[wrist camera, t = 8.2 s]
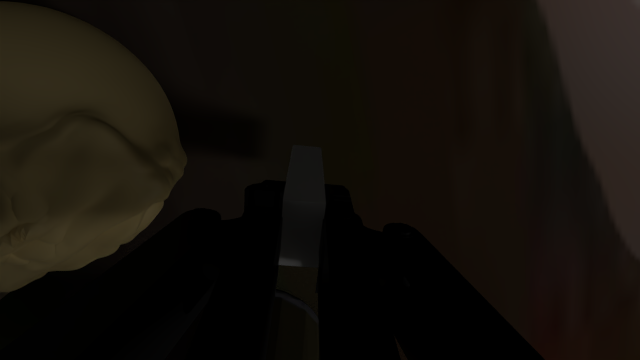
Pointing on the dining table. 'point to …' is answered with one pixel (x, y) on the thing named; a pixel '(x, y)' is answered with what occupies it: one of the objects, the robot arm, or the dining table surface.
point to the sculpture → (76, 144)
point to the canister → (292, 330)
